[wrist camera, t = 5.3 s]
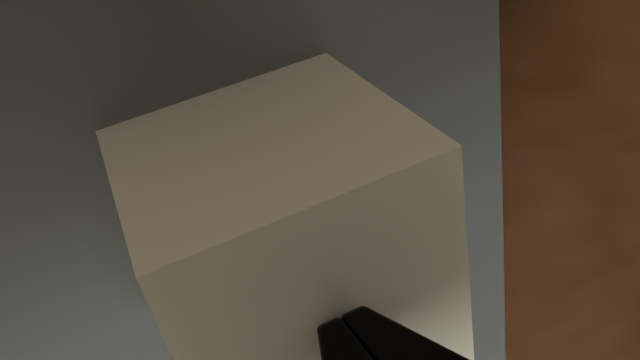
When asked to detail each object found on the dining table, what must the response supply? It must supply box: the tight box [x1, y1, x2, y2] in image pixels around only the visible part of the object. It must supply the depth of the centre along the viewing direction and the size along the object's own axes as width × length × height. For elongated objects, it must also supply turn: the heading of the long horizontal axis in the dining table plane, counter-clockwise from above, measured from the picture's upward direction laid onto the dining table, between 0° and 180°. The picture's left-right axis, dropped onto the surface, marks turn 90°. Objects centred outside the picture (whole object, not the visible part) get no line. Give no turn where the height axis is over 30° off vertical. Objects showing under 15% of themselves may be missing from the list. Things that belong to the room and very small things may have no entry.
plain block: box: [96, 53, 474, 360], centre depth 12 cm, size 5×5×5 cm
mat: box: [0, 0, 506, 360], centre depth 14 cm, size 30×14×1 cm, turn 11°
